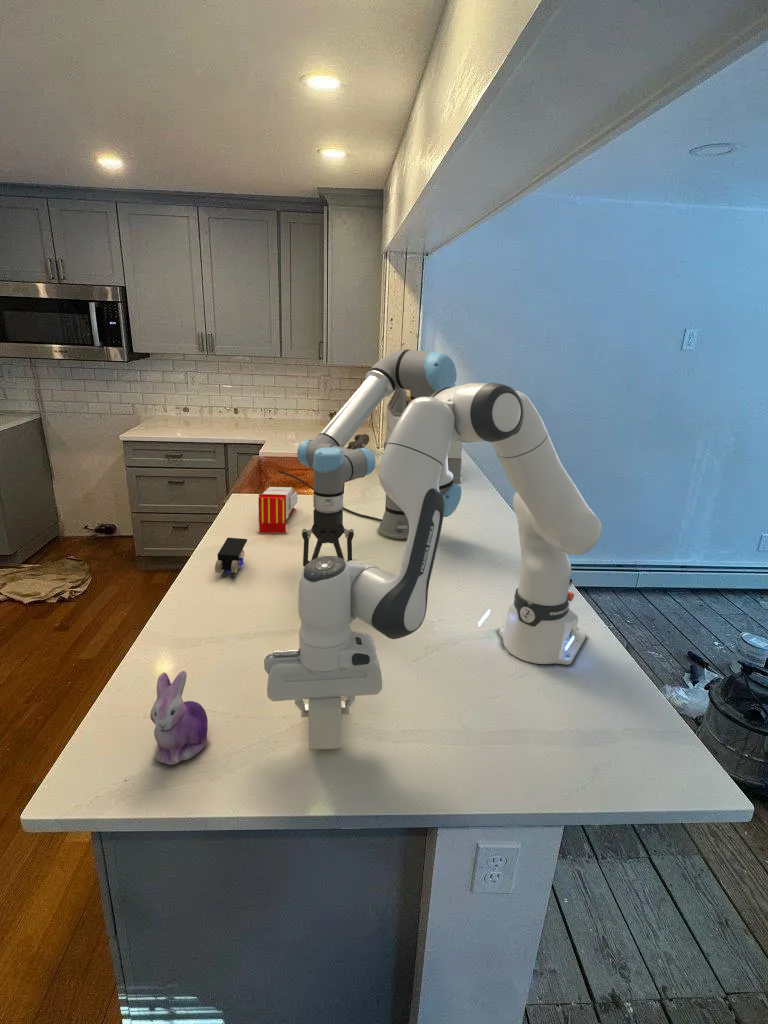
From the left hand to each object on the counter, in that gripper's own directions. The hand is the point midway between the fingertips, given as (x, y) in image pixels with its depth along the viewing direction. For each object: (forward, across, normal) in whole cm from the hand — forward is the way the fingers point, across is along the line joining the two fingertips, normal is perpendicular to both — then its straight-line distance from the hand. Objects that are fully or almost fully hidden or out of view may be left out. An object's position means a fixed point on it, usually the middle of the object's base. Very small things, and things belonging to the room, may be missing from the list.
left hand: (327, 588), depth 153 cm
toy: (+3, -19, +59) cm, 62 cm away
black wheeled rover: (+3, -28, +17) cm, 33 cm away
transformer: (+4, +43, +125) cm, 132 cm away
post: (+1, 0, -26) cm, 27 cm away
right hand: (-3, 0, -53) cm, 53 cm away
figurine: (+2, -25, -55) cm, 60 cm away
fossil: (+4, +14, +162) cm, 163 cm away
